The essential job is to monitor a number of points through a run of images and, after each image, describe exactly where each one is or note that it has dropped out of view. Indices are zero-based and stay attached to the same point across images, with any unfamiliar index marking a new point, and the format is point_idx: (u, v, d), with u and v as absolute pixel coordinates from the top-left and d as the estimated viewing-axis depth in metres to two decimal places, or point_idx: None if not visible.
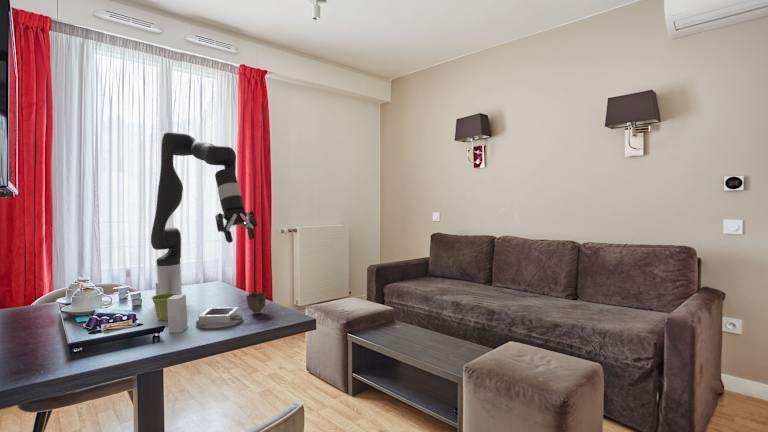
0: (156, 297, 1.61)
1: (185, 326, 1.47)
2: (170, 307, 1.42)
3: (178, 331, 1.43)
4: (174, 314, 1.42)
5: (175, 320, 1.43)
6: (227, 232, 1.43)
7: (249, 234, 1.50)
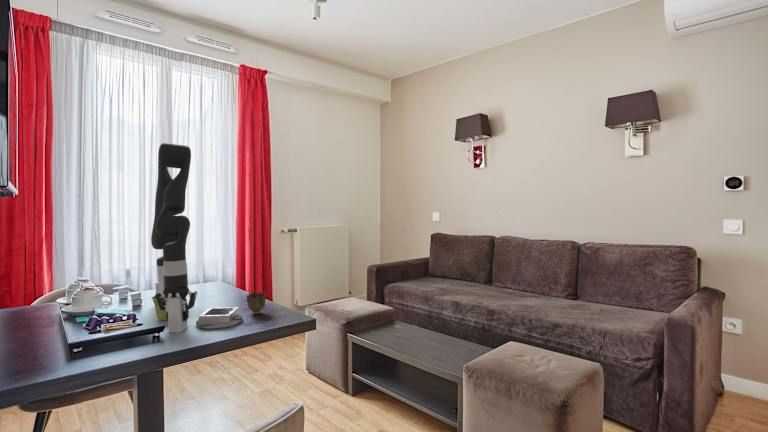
0: None
1: (185, 326, 1.47)
2: (170, 307, 1.42)
3: (178, 331, 1.43)
4: (174, 314, 1.42)
5: (175, 320, 1.43)
6: (167, 312, 1.44)
7: None
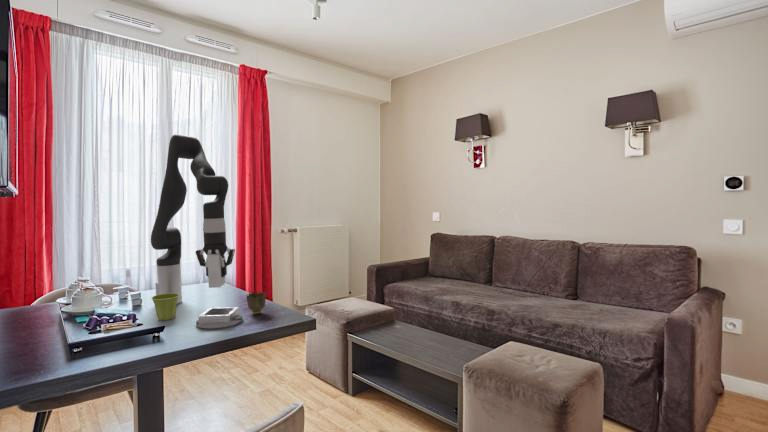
0: (156, 297, 1.61)
1: (223, 282, 1.53)
2: (210, 262, 1.49)
3: (217, 286, 1.49)
4: (213, 269, 1.49)
5: (215, 275, 1.49)
6: (206, 268, 1.51)
7: None
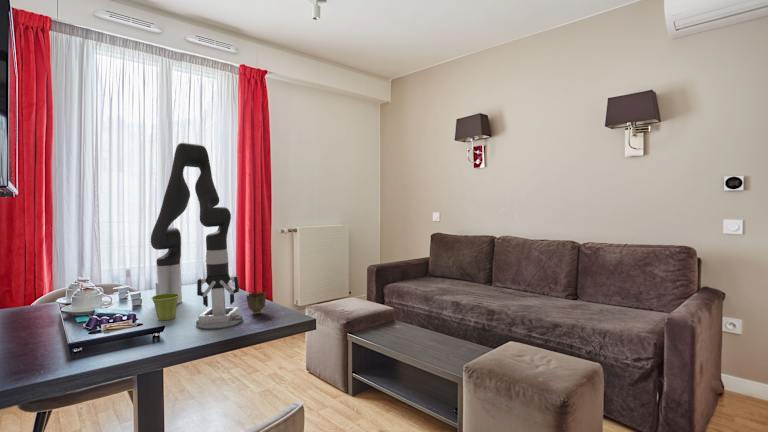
0: (156, 297, 1.61)
1: None
2: (214, 297, 1.50)
3: None
4: (218, 304, 1.50)
5: (219, 309, 1.50)
6: (204, 297, 1.50)
7: (230, 298, 1.54)
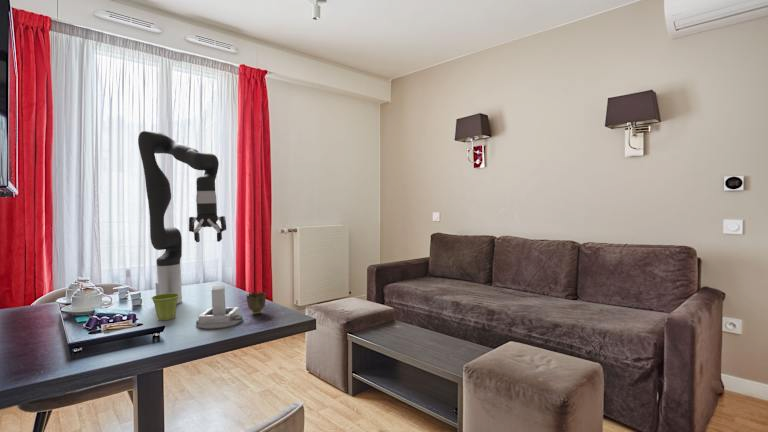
0: (156, 297, 1.61)
1: None
2: (215, 297, 1.50)
3: None
4: (218, 304, 1.50)
5: (219, 309, 1.50)
6: (195, 234, 1.69)
7: None
